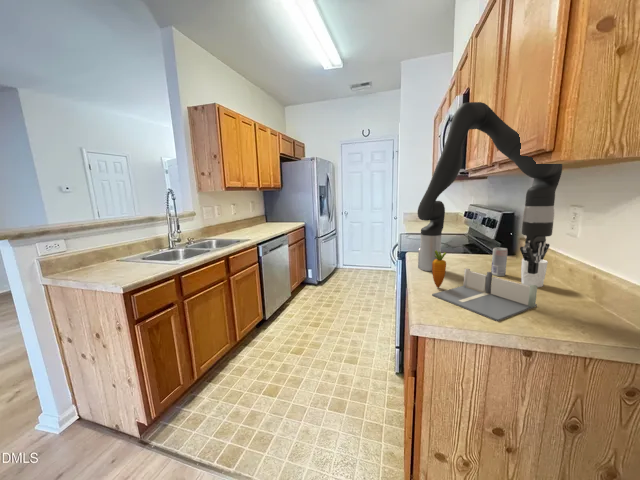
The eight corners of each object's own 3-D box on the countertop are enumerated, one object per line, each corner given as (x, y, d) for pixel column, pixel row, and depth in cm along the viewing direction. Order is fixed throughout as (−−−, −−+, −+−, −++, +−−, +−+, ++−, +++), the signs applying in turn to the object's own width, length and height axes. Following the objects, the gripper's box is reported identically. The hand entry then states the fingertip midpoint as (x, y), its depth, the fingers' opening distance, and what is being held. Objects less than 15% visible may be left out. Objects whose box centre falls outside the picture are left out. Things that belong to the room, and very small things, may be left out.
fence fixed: (462, 286, 103) (463, 266, 102) (465, 285, 104) (466, 266, 103) (488, 294, 94) (490, 273, 93) (491, 293, 95) (493, 272, 93)
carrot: (447, 288, 103) (449, 250, 100) (439, 290, 100) (441, 252, 98) (436, 284, 107) (438, 248, 105) (428, 287, 105) (430, 250, 102)
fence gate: (490, 293, 94) (491, 276, 92) (493, 292, 94) (494, 275, 93) (533, 307, 82) (535, 287, 81) (536, 306, 83) (538, 286, 81)
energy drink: (500, 272, 120) (503, 247, 118) (508, 276, 115) (510, 249, 113) (488, 272, 120) (490, 247, 118) (495, 276, 115) (497, 249, 113)
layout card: (432, 295, 96) (432, 293, 96) (469, 285, 105) (469, 283, 105) (497, 321, 76) (497, 319, 76) (536, 306, 85) (536, 304, 85)
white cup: (514, 282, 107) (516, 258, 105) (528, 280, 109) (531, 256, 107) (535, 289, 99) (538, 263, 98) (549, 286, 102) (552, 261, 100)
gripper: (535, 218, 89) (530, 267, 92) (512, 221, 83) (508, 273, 86) (563, 219, 82) (556, 273, 85) (540, 222, 77) (534, 279, 79)
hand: (532, 273), depth 86 cm, fingers closed
